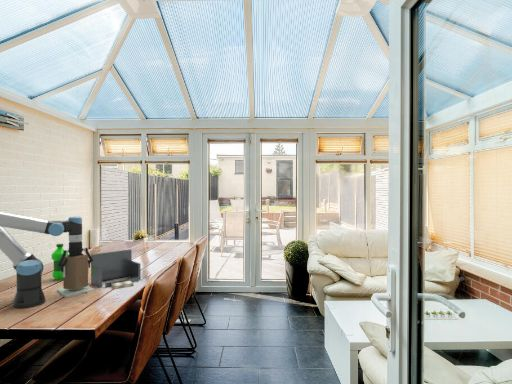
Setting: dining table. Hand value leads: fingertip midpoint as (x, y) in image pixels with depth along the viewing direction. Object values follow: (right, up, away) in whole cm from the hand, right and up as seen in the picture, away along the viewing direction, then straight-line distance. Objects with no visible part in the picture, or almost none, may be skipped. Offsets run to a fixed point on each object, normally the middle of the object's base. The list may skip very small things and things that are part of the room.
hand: (75, 275), depth 212 cm
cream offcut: (+27, -9, +7) cm, 29 cm away
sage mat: (0, -10, 0) cm, 10 cm away
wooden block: (0, -8, 0) cm, 8 cm away
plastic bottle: (-27, -10, +29) cm, 41 cm away
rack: (+18, -10, +19) cm, 28 cm away
